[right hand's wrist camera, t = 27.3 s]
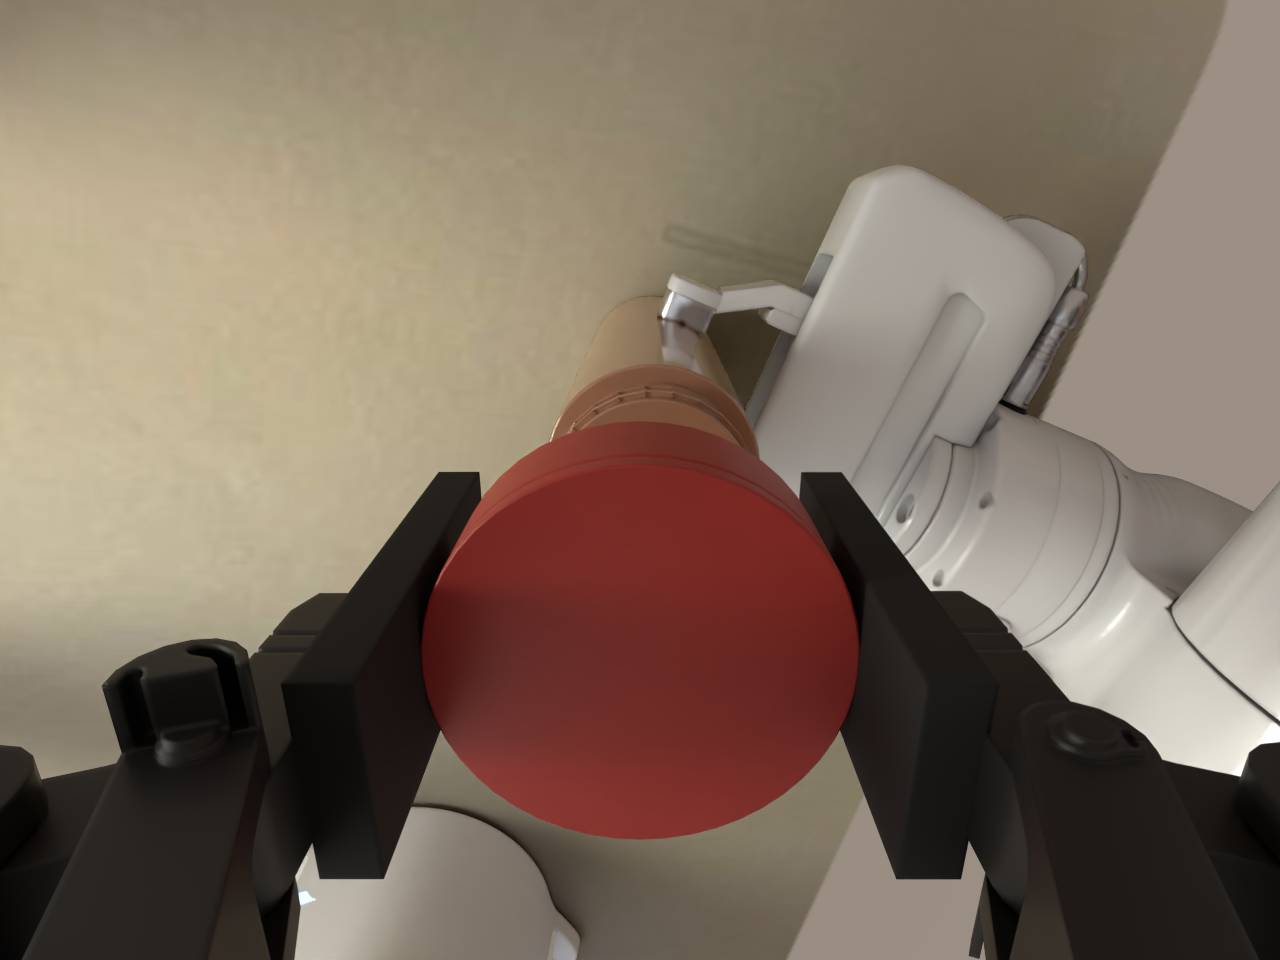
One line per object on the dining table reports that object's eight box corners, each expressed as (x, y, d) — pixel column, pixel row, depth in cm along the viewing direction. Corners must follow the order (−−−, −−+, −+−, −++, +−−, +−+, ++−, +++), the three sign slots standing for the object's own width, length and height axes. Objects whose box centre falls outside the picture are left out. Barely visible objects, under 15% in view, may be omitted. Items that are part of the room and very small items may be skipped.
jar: (655, 269, 32) (662, 328, 16) (736, 361, 33) (819, 504, 17) (565, 353, 33) (486, 489, 17) (646, 440, 35) (645, 641, 18)
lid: (384, 627, 12) (337, 704, 10) (602, 337, 11) (594, 366, 9) (670, 802, 14) (675, 900, 12) (903, 568, 12) (954, 637, 10)
